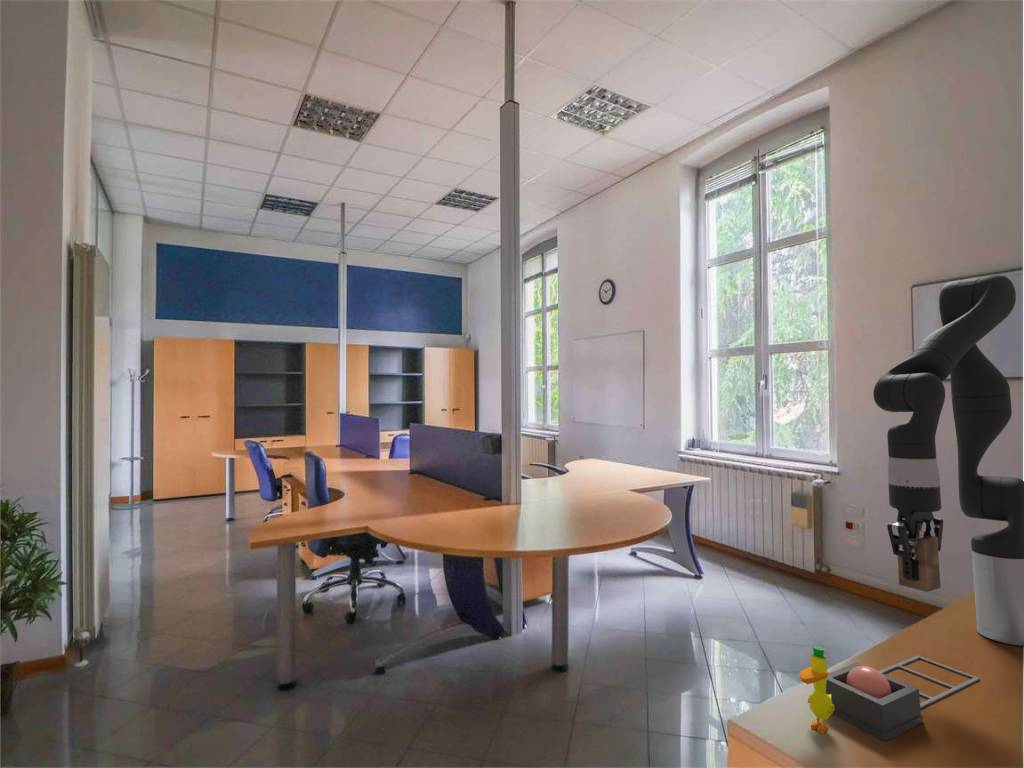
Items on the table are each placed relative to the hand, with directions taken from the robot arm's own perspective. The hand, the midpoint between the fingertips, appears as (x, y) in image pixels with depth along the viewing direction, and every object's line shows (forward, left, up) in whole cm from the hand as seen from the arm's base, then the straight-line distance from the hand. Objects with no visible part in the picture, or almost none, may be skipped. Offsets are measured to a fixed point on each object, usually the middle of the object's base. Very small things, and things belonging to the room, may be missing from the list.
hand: (918, 577), depth 94 cm
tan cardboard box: (0, 0, -2) cm, 2 cm away
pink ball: (+20, +2, -17) cm, 26 cm away
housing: (+20, +2, -18) cm, 27 cm away
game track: (+3, 0, -18) cm, 18 cm away
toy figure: (+30, 0, -18) cm, 35 cm away
